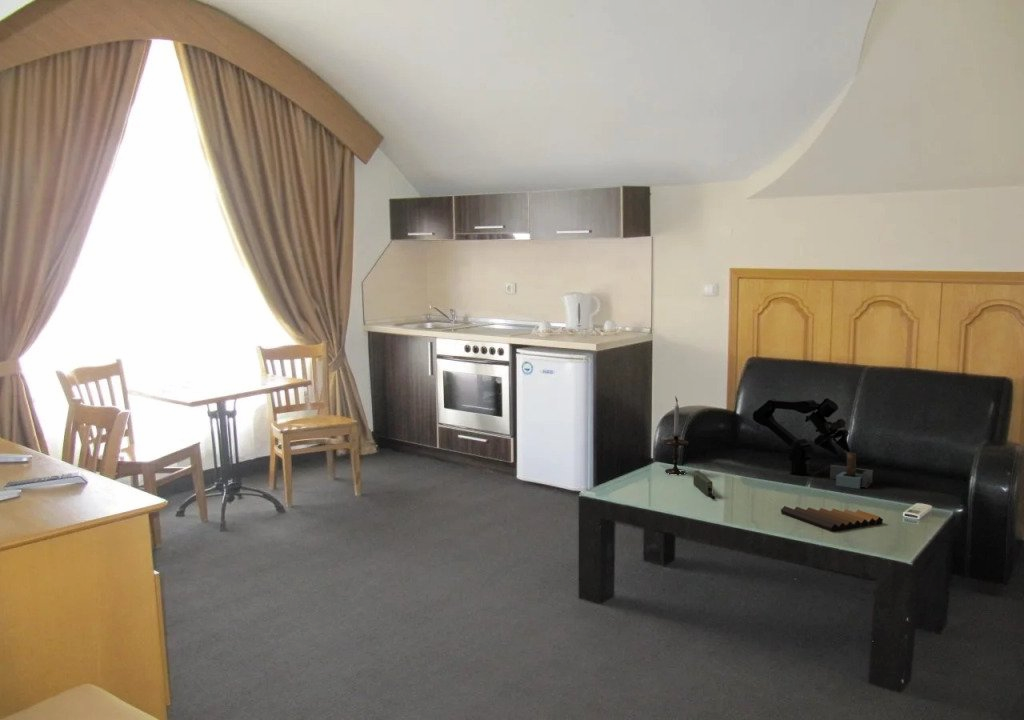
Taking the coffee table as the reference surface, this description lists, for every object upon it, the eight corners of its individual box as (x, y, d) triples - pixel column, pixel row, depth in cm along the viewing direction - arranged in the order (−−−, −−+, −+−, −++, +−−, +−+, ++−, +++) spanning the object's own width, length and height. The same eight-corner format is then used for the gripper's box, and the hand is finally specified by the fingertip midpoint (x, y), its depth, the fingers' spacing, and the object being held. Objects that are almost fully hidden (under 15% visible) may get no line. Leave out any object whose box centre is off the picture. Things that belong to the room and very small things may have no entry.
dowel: (846, 484, 369) (847, 453, 367) (845, 482, 372) (846, 452, 371) (855, 484, 368) (856, 454, 366) (854, 482, 371) (855, 452, 370)
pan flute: (780, 515, 325) (830, 533, 302) (780, 506, 324) (831, 524, 302) (830, 508, 335) (882, 525, 313) (830, 499, 335) (883, 516, 312)
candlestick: (659, 473, 389) (660, 396, 386) (669, 469, 398) (670, 393, 395) (681, 476, 383) (683, 398, 380) (691, 472, 392) (693, 395, 389)
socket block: (835, 486, 369) (836, 475, 369) (842, 481, 377) (842, 471, 376) (859, 489, 363) (859, 479, 363) (865, 485, 371) (865, 474, 371)
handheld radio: (700, 485, 369) (718, 500, 344) (692, 486, 368) (710, 501, 344) (700, 470, 368) (717, 484, 343) (692, 470, 368) (709, 484, 343)
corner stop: (825, 482, 374) (825, 468, 373) (831, 478, 382) (831, 464, 381) (866, 488, 364) (867, 474, 363) (872, 483, 372) (872, 470, 371)
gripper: (821, 415, 368) (844, 444, 361) (845, 410, 380) (868, 439, 373) (804, 430, 375) (826, 460, 368) (828, 425, 387) (850, 454, 379)
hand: (843, 453), depth 372 cm, fingers open, 9 cm apart
